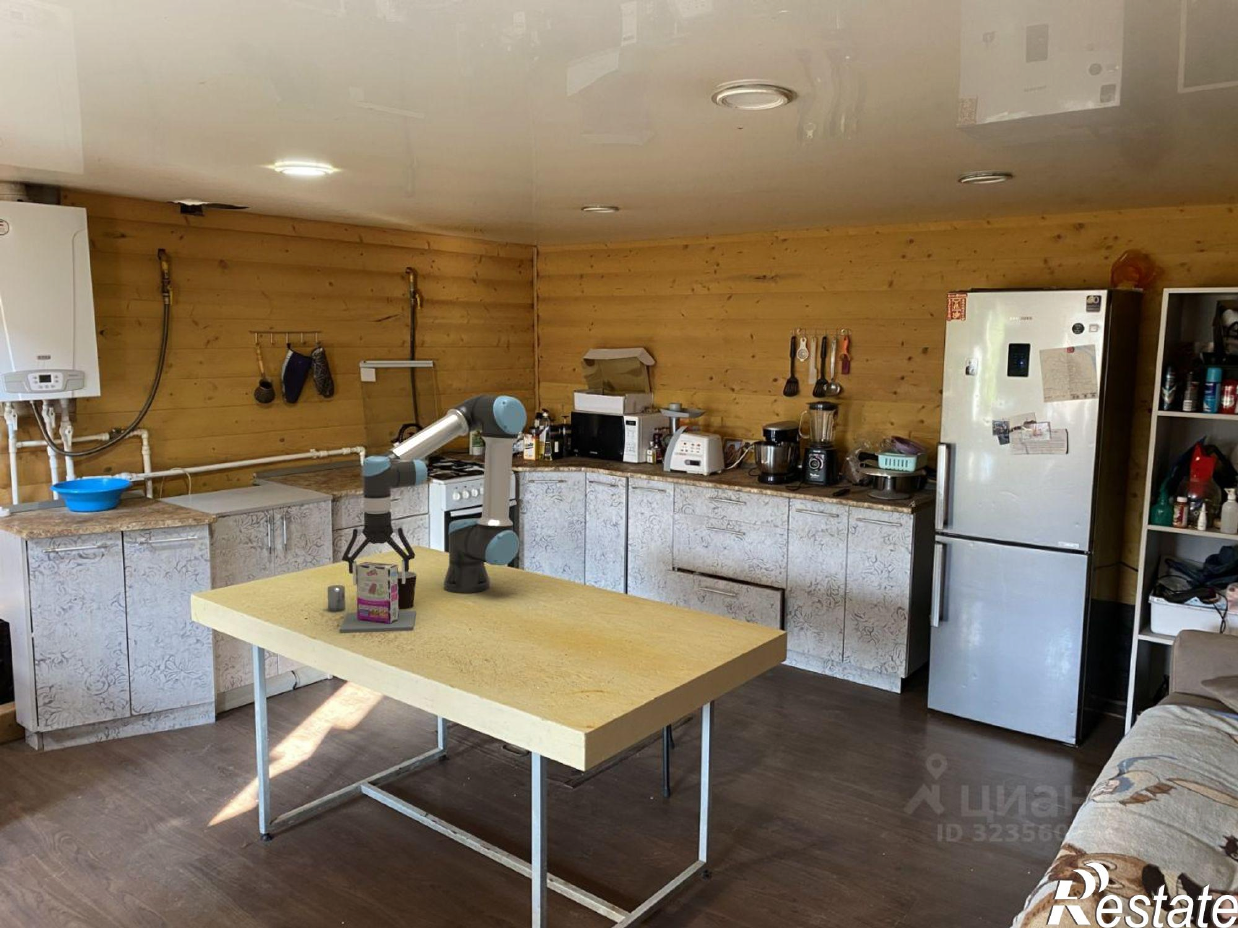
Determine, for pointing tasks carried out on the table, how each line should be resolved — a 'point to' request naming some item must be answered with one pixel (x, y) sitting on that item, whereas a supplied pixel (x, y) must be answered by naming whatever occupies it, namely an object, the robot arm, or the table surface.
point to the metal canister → (336, 598)
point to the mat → (378, 623)
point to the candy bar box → (377, 592)
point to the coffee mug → (406, 590)
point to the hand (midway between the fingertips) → (379, 583)
